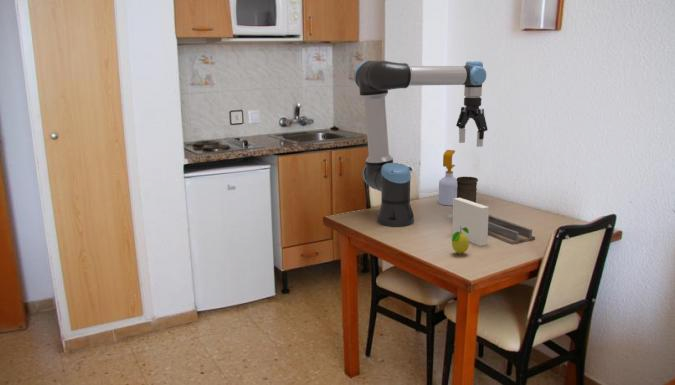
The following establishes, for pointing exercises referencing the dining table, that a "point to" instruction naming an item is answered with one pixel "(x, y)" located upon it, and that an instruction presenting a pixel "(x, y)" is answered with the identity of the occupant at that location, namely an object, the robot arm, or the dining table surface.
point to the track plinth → (508, 231)
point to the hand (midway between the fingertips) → (470, 144)
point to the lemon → (460, 241)
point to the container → (467, 188)
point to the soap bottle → (448, 181)
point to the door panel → (471, 220)
